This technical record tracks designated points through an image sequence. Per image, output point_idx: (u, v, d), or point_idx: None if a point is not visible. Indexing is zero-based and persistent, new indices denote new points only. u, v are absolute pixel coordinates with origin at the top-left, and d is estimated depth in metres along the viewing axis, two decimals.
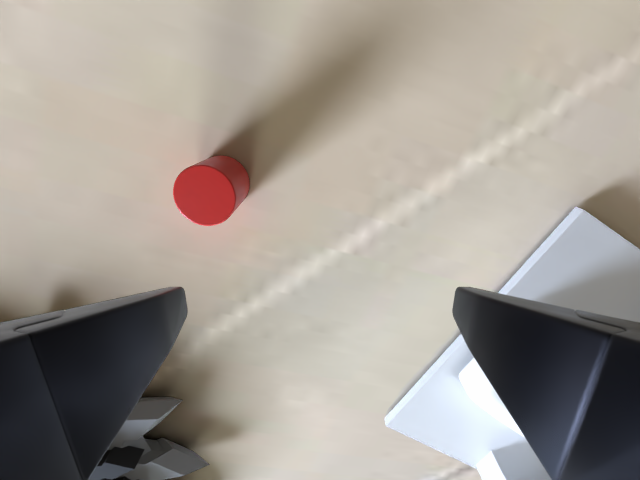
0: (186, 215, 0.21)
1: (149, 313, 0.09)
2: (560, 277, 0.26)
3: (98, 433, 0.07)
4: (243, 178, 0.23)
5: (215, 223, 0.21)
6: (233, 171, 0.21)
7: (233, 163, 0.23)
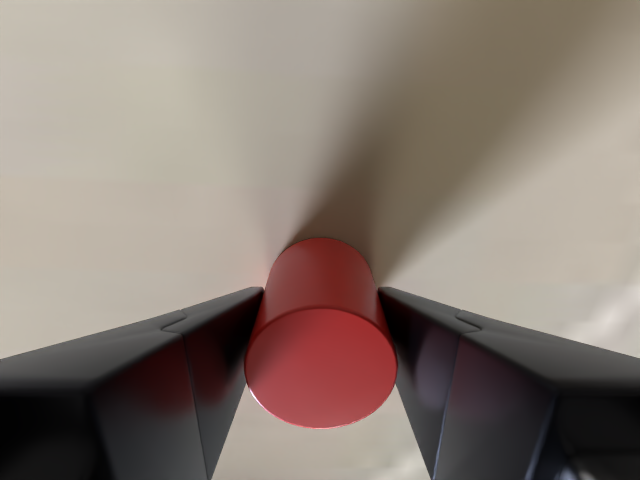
0: (285, 418, 0.09)
1: (247, 313, 0.09)
2: None
3: (217, 433, 0.07)
4: (372, 282, 0.10)
5: (355, 420, 0.09)
6: (362, 284, 0.09)
7: (344, 255, 0.11)
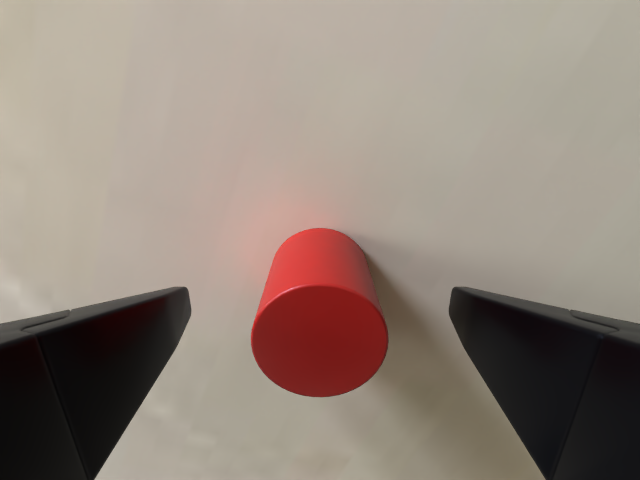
0: (288, 387, 0.10)
1: (154, 313, 0.09)
2: None
3: (104, 434, 0.07)
4: (367, 267, 0.11)
5: (350, 389, 0.10)
6: (356, 268, 0.10)
7: (341, 243, 0.12)
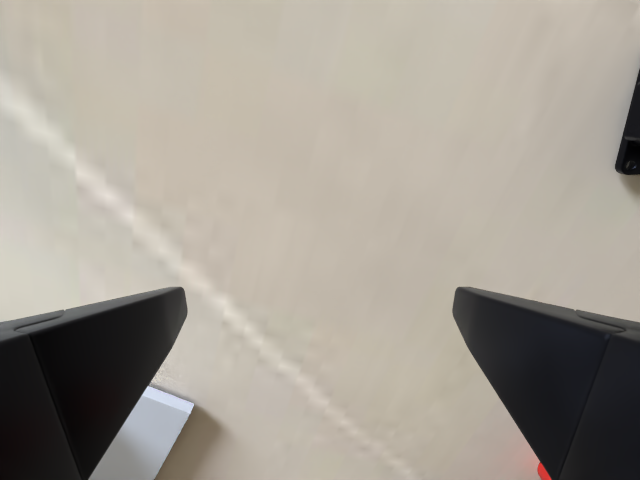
0: None
1: (149, 313, 0.09)
2: None
3: (98, 433, 0.07)
4: None
5: None
6: None
7: None
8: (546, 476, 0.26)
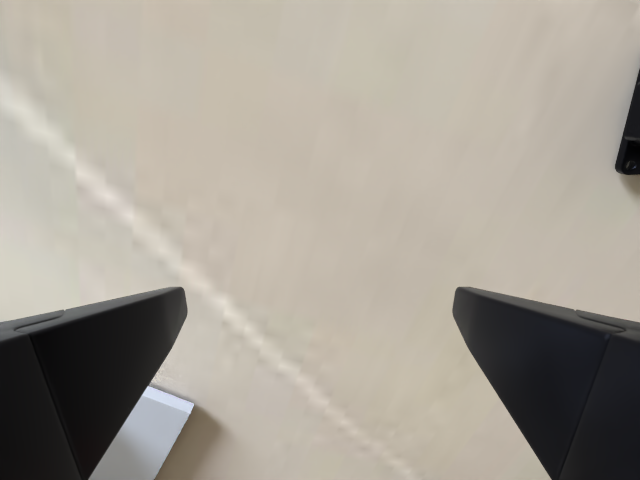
0: None
1: (149, 313, 0.09)
2: None
3: (98, 433, 0.07)
4: None
5: None
6: None
7: None
8: None
